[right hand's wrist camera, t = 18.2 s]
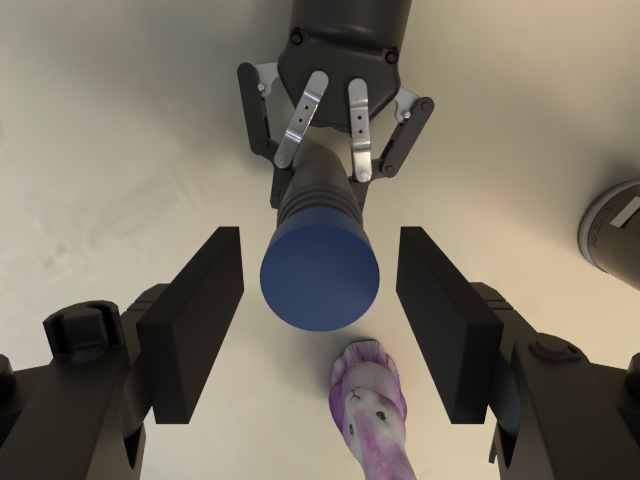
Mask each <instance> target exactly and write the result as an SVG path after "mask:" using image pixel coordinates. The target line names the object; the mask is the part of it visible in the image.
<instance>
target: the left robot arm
mask: <svg viewBox="0 0 640 480" xmlns="http://www.w3.org/2000/svg"><path fill="white" fill-rule="evenodd" d="M411 2H412V0H293V7H292V15H291V23H290V31H289V38H288V42H287V45H286V47H285V49H284V51H283V52H282V54H281V55H280V57H279V59H278V62H273V63H266V64H258V65H252V64H250V63H242V64H240V65H239V67H238V69H237V74H238V80H239V86H240V91H241V97H242V103H243V108H244V114H245V119H246V125H247V131H248V136H249V142H250V147H251V150H252V152H253V153H254V154H257V155H261V156H263V157H265V158H267V159H268V160H270V161H271V162H272V164H273V166H274V175H273V183H272V190H271V198H270V203H271V207H272V208H274V209H278V212H279V209H280V207H281V204H282V202H283V199H284V197H285V194H286V192H287V189H288V187H289V184H290V182H291V179H292V177H293V174H294V169H295V167H293V166H292V165H293V158H294V155H295V153H296V151H297V149H298V147H299V145H300V143H301V141H302V138H303V136H304V134H305V132H306V130H307V128H308V126H314V127H328V126H331V127H333V128H335V129H337V130H339V131H341V132H347V133H349V142H350V148H351V158H352V169H353V172H352V177H351V176H349V177H348V180H349V182H350V185H351V187H352V190H353V192H354V195H355V197H356V200H357V202H358V205H359V207H360V210H361V213H362V212H363V207H364V203H365V198H366V194H367V189H368V186H369V184H370V182H371V181H372V180H374V179H377V178H383V177H388V178H391V177H394V176H395V175H396V174H397V172H398V171H399V169H400V167H401V165H402V164H403V162H404V160H405V158H406V157H407V155H408V153H409V151H410V150H411V148H412V146H413V144H414V143H415V141H416V139H417V137H418V136H419V134H420V132H421V131H422V129H423V127H424V125H425V124H426V122H427V120H428V118H429V117H430V115H431V113H432V111H433V109H434V102H433V100H432V99H431V98H429V97H419V96H417V95H416V94H414V93H412V92H410V91H409V90H407V89H405V88H403V87H402V86H400V85H401V82H400V77H399V72H398V60H399V55H400V51H401V46H402V42H403V38H404V33H405V29H406V24H407V20H408V15H409V11H410V7H411ZM278 78H280V79H281V81H282V83H283V85H284V87H285V89H286V91H287V93H288V96H289V98H290V100H291V102H292V104H293V106H294V108H295V112H294V114H293V117H292V119H291V121H290V123H289V125H288V128H287V130H286V132H285V135H284V137H283V139H282V141H281V144H279V143H277V142H276V141H274V140H272V139H271V135H270V129H269V123H268V116H267V110H266V104H265V97H268V96H270V95H271V94H272V91H273V83H274V81H275V80H276V79H278ZM392 100H394V102H395V104H396V110H395V113H394V117H395V120H396V121H397V122H399V123H398V125H397V127H396V128H395V130H394V132H393V134H392V136H391V138H390V139H389V141H388V143H387V145H386V147H385V148H384V150H383V152H382V154H381V156H380V158H379V159H374V160H371V154H370V148H371V142H370V128H369V122H370V121H371V120H372V119H373V118H374V117H375V116H376V115H377V114H378V113H379V112H380V111H381V110H382V109H384V108H385V107H386V106H387V105H388V104H389V103H390V102H391V101H392ZM278 212H277V216H278ZM579 245H580V249H581V252H582V254H583V256H584V257H585V259H586V260H587V261H588V262H589V263H590V264H592V265H593V266H595V267H596V268H598V269H600V270H602V271H603V272H606V273H608V274H611V275H613V276H614V277H616V278H618V279H620V280H621V281H623V282H625V283H626V284H628V285H630V286H631V287H633V288H635V289H637V290H639V291H640V179H638V180H632V181H628V182H625V183H622V184H620V185H617V186H616V187H614V188H612V189H610V190H609V191H607V192H606V193H604V194H603V195H602V196H601V197H600V198H598V199H597V200H596V201H595V203H594V204H593V205H592V206H591V207H590V209H589V210H588V212H587V213H586V215H585V217H584V219H583V221H582V224H581V227H580V232H579Z"/></svg>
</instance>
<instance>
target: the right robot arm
mask: <svg viewBox="0 0 640 480" xmlns="http://www.w3.org/2000/svg"><path fill="white" fill-rule="evenodd" d="M243 292H244V282H243V269H242V257H241V245H240V232H239V227H218V228H217V230H216V231H215V232H214V233H213V234H212V235H211V237H210V238H209V239H208V240H207V241H206V242H205V244H204V245H203V246H202V247H201V248H200V249H199V251H198V252H197V253H196V254H195V255H194V256H193V257H192V259H191V260H190V261H189V262H188V263H187V264H186V266H185V267H184V268H183V269H182V270H181V271H180V273H179V274H178V275H177V276H176V277H175V278H174V280H173V281H172V282H171V283H170V284H157V285H155V286H153V287H151V288H150V289H148V290H146V291H144V292H143V293H142V294H141V295H140V296H139V297H138V298H137V299H136V300H135V302H134V303H132V304H131V305H130V306H129V307H128V309H127V311H125V312H124V313H123V314H122V315H121V316H120V314H119V310H118V306H117V305H116V304H115V303H113V302H110V301H104V300H98V301H87V302H83V303H78V304H74V305H71V306H69V307H66V308H63V309H61V310H59V311H57V312H55V313H54V314H52V315H50V316H49V317H48V318H47V319H46V320H45V321H43V325H44V329H45V332H46V335H47V338H48V342H49V345H50V348H51V351H52V355H53V359H52V361H51V362H50V364H49V365H45V366H40V367H34V368H29V369H24V370H19V371H14V372H13V370H12V367H11V365H10V362H9V359H8V358H7V357H5V356H4V355H3V354H0V480H140V473H141V467H142V460H143V454H144V447H145V441H146V433H145V427H144V423H143V421H144V419H145V417H146V415H147V413H148V412H149V410H150V408H151V406H152V407H153V412H154V416H155V421H156V424H189V422H190V419H191V417H192V414H193V412H194V410H195V407H196V405H197V402H198V400H199V398H200V395H201V393H202V390H203V388H204V386H205V383H206V381H207V378H208V376H209V374H210V371H211V369H212V366H213V364H214V362H215V359H216V357H217V355H218V352H219V350H220V347H221V345H222V343H223V340H224V338H225V335H226V333H227V331H228V328H229V326H230V323H231V321H232V319H233V316H234V314H235V311H236V309H237V307H238V304H239V302H240V299H241V297H242V295H243ZM396 292H397V295H398V297H399V299H400V302H401V304H402V307H403V309H404V311H405V314H406V316H407V319H408V321H409V323H410V326H411V328H412V331H413V333H414V335H415V338H416V340H417V343H418V345H419V347H420V350H421V352H422V355H423V357H424V359H425V362H426V364H427V366H428V369H429V371H430V374H431V376H432V378H433V381H434V383H435V386H436V388H437V390H438V393H439V395H440V398H441V400H442V402H443V405H444V407H445V410H446V412H447V414H448V417H449V419H450V422H451V424H484V421H485V416H486V412H487V407H488V405H489V406H490V408H491V410H492V412H493V413H494V415H495V417H496V419H497V423H496V427H495V432H494V436H493V441H492V445H491V450H490V455H489V463H493V464H494V461H495V457H496V455H497V459H498V466H499V472H500V479H501V480H640V352H639V353H637V354H635V355H634V356H633V357H632V359H631V362H630V365H629V367H628V370H625V369H620V368H615V367H610V366H604V365H599V364H594V363H590V362H589V360H588V358H587V357H586V355H585V354H584V353H583V352H582V351H581V350H580V349H579V348H577V347H576V346H574V345H573V344H571V343H570V342H568V341H566V340H563V339H561V338H559V337H556V336H553V335H549V334H545V333H537V332H536V331H535V329H534V328H533V327H532V326H531V325H530V324H529V323H528V322H527V321H526V320H525V319H524V318H523V317H522V316H521V315H520V314H519V313H518V312H517V311H516V310H514V309H513V307H512V306H511V305H510V304H509V303H508V302H506V300H505V299H504V298H503V297H502V296H501V295H500V294H499V292H498V291H497V290H495V289H493V288H491V287H489V286H488V285H486V284H484V283H482V282H468V281H467V280H466V278H465V277H464V276H463V275H462V274H461V273H460V271H459V270H458V269H457V268H456V267H455V266H454V264H453V263H452V262H451V261H450V260H449V259H448V257H447V256H446V255H445V254H444V253H443V252H442V250H441V249H440V248H439V247H438V246H437V245H436V244H435V242H434V241H433V240H432V239H431V238H430V237H429V235H428V234H427V233H426V232H425V231H424V230H423V228H422V227H401V233H400V245H399V257H398V269H397V282H396Z"/></svg>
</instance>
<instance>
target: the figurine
mask: <svg viewBox="0 0 640 480" xmlns="http://www.w3.org/2000/svg"><path fill="white" fill-rule="evenodd" d="M329 406H330V411H331V414H332V417H333V419H334V421H335V423H336V425H337V427H338V429H339V431H340V432H341V434H342V436H343V438H344V440H345V442H346V445H347V446H348V448H349V449H350V451H351V453H352V454H353V456H354V457H355V458H356V459H357V460H358V462H359V463H360V464H361V466H362V468H363V471H364V474H365V478H366V480H417V479H416V476H415V474H414V472H413V470H412V467H411V465H410V463H409V460H408V458H407V455H406V453H405V450H404V448H405V436H406V429H405V420H406V415H407V406H406V402H405V399H404V396H403V395H402V393H401V386H400V380H399V375H398V371H397V368H396V365H395V363H394V362H393V361H392V360H391V358H390V357H389V356H387V355H386V354H385V352H384V350H383V348H382V346H381V345H380V344H379V343H378V342H377V341H365V342H364V341H363V342H355V343H352V344H350V345H348V346H347V348H346V350H345V352H344V355H342V356H341V357H339V358H338V359H337V360H336V361H335V363H334V366H333V370H332V377H331V390H330V395H329Z"/></svg>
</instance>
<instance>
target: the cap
mask: <svg viewBox="0 0 640 480" xmlns="http://www.w3.org/2000/svg"><path fill="white" fill-rule="evenodd" d="M379 280H380V276H379V267H378V263H377V261H376V258H375V255H374V252H373V250H372V247H371V244H370V242H369V239H368V237H367V235H366V233H365V231H364V230H363V229H362V227H361V226H360V225H359V224H358V223H357V222H356V221H355V220H354V219H352V218H351V217H349V216H348V215H346V214H344V213H342V212H340V211H337V210H333V209H328V208H312V209H307V210H303V211H300V212H298V213H295V214H294V215H292V216H290V217H289V218H287V219H286V220H285V221H284V222H283V223H281V224H280V226H279V227H278V228H277V229H276V231H275V232H274V234H273V236H272V238H271V241H270V243H269V246H268V248H267V251H266V254H265V256H264V259H263V262H262V266H261V271H260V284H261V290H262V293H263V296H264V298H265V300H266V302H267V304H268V305H269V307H270V308H271V309H272V310H273V312H274V313H275V314H276V315H277V316H278V317H280V318H281V319H282V320H284V321H285V322H287V323H288V324H290V325H292V326H295V327H297V328H300V329H304V330H308V331H319V332H323V331H331V330H336V329H339V328H343V327H345V326H347V325H349V324H351V323H353V322H354V321H356V320H357V319H359V318H360V317H361V316H362V315H363V314H364V313H365V312H366V311H367V310H368V309H369V307H370V306H371V305H372V303H373V301H374V299H375V297H376V294H377V292H378V288H379Z"/></svg>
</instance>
